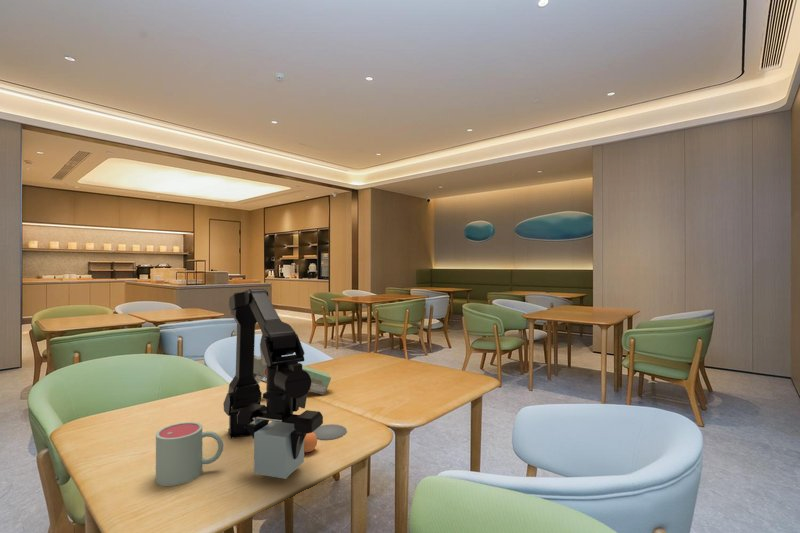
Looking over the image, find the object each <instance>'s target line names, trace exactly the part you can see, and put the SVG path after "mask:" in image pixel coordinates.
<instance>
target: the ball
mask: <svg viewBox="0 0 800 533" xmlns="http://www.w3.org/2000/svg"><path fill="white" fill-rule="evenodd" d="M317 443H318V439H317V437H316V435H315V433H313V432H312V433H307V434H306V436H305V438H304V453H310V452H312V451H314V450H315V449H316V447H317V445H318V444H317Z"/></svg>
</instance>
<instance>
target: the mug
mask: <svg viewBox="0 0 800 533" xmlns="http://www.w3.org/2000/svg"><path fill="white" fill-rule="evenodd" d="M204 438H213V439H214V440H215V442H217V450H216V453H215V454H214V455H213V456H211V457H209V458H203V439H204ZM222 438H223V437H222V436H220V435H219V433H217V432H215V431H210V430H209V431H208V430H207V431H203V424H201V423H199V422H193V421H188V422H187V421H186V422H185V421H184V422H178V423H173V424H170V425H167V426H164V427H163V428H160V429H159V430H158V431H157V432H156V433H155V482H156V484H157V485H160V486H163V487H172V486H173V487H174V486H179V485H180V486H181V485H185V484H186V483H189V482H191V481H193V480H195V479H197V478H198V477H199V476H201V474H202V473H203V465H209V464H214V462H216V461H217V460H218V459H219V458H220V457H221V455H222V453H223V451H224V440H223V439H222Z"/></svg>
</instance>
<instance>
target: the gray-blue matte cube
mask: <svg viewBox="0 0 800 533" xmlns="http://www.w3.org/2000/svg"><path fill="white" fill-rule="evenodd" d="M294 430H295V428H294V424H291V423H284V422H276V421H270V422H269V423H268V424H267V425H266V426H264V427H263V428H261V429H260V430H258V431H257V432H255V433H254V438H253V448H254V449H253V470H254V471H253V474H255V475H260V476H262V475H263V476H265V477H273V478H279V479H283V480H284V479H285V480H286V479H287V478H288V477H289V476H290V475H291V474H292V473H294V471H296V470H297V469H298V468H299V467H300V466H301V465H302V464H304V463H305V452H304V441H303V444H302V447H301V449H300V452H299V455H298V458H296V459H294V457H293V452H292V441H291V432H292V431H294Z"/></svg>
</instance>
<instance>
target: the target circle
mask: <svg viewBox="0 0 800 533" xmlns="http://www.w3.org/2000/svg"><path fill="white" fill-rule="evenodd" d="M313 433H315V435H316V437H317V440H320V441H321V440H322V441H330V440H336V438H337V439H340V438H342V437H343V435H344V436H345V435H346V434H347V428H346V427H345V426H342V425H339V424H335V423H333V424H322V425H321V426H319V427H318V428H317V429H316V430H314V431H313ZM339 437H340V438H339Z"/></svg>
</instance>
